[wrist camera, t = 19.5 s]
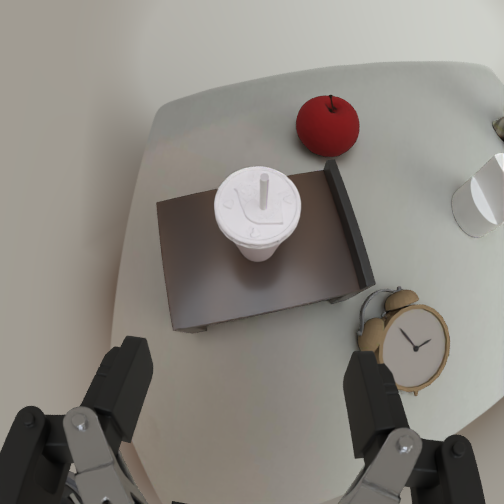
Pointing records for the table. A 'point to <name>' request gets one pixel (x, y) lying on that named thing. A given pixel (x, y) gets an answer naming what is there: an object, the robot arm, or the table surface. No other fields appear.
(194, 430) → the table surface
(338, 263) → the shelf
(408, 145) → the table surface
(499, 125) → the plaid figurine
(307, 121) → the apple
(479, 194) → the cylinder with rectangular tab
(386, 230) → the table surface
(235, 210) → the smoothie
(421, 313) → the alarm clock
